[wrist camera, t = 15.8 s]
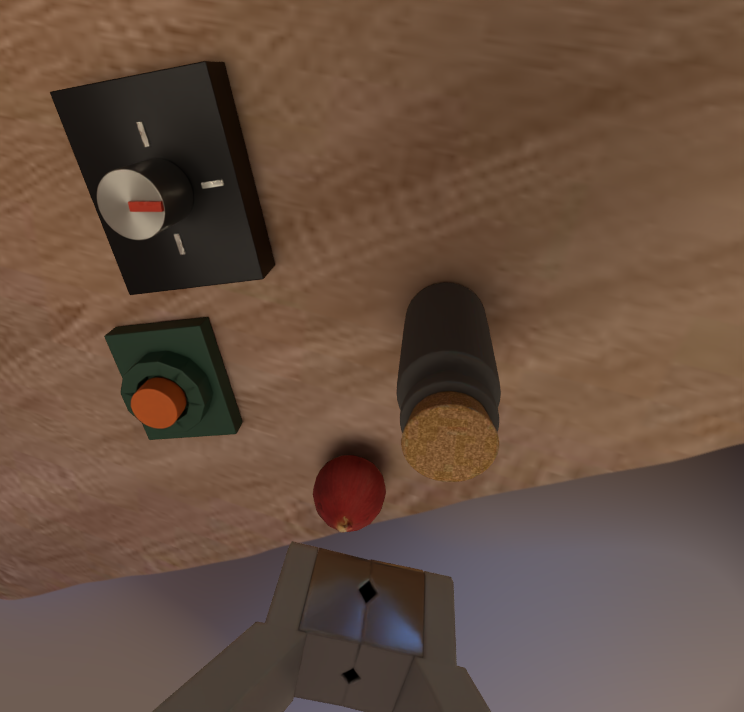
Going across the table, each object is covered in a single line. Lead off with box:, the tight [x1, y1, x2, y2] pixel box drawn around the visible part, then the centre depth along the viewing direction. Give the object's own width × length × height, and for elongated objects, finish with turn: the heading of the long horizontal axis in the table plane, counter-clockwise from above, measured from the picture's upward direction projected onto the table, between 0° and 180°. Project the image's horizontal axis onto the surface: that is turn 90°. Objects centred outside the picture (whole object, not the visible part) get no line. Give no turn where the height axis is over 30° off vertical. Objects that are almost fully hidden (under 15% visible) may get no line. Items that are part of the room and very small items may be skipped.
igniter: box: [104, 317, 242, 440], centre depth 42 cm, size 10×8×4 cm
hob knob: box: [97, 158, 193, 240], centre depth 31 cm, size 4×4×4 cm
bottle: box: [397, 283, 501, 482], centre depth 32 cm, size 6×6×15 cm
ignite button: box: [131, 377, 186, 429], centre depth 40 cm, size 4×4×2 cm
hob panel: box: [50, 61, 275, 295], centre depth 35 cm, size 13×10×3 cm
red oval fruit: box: [313, 455, 386, 532], centre depth 42 cm, size 6×6×8 cm
